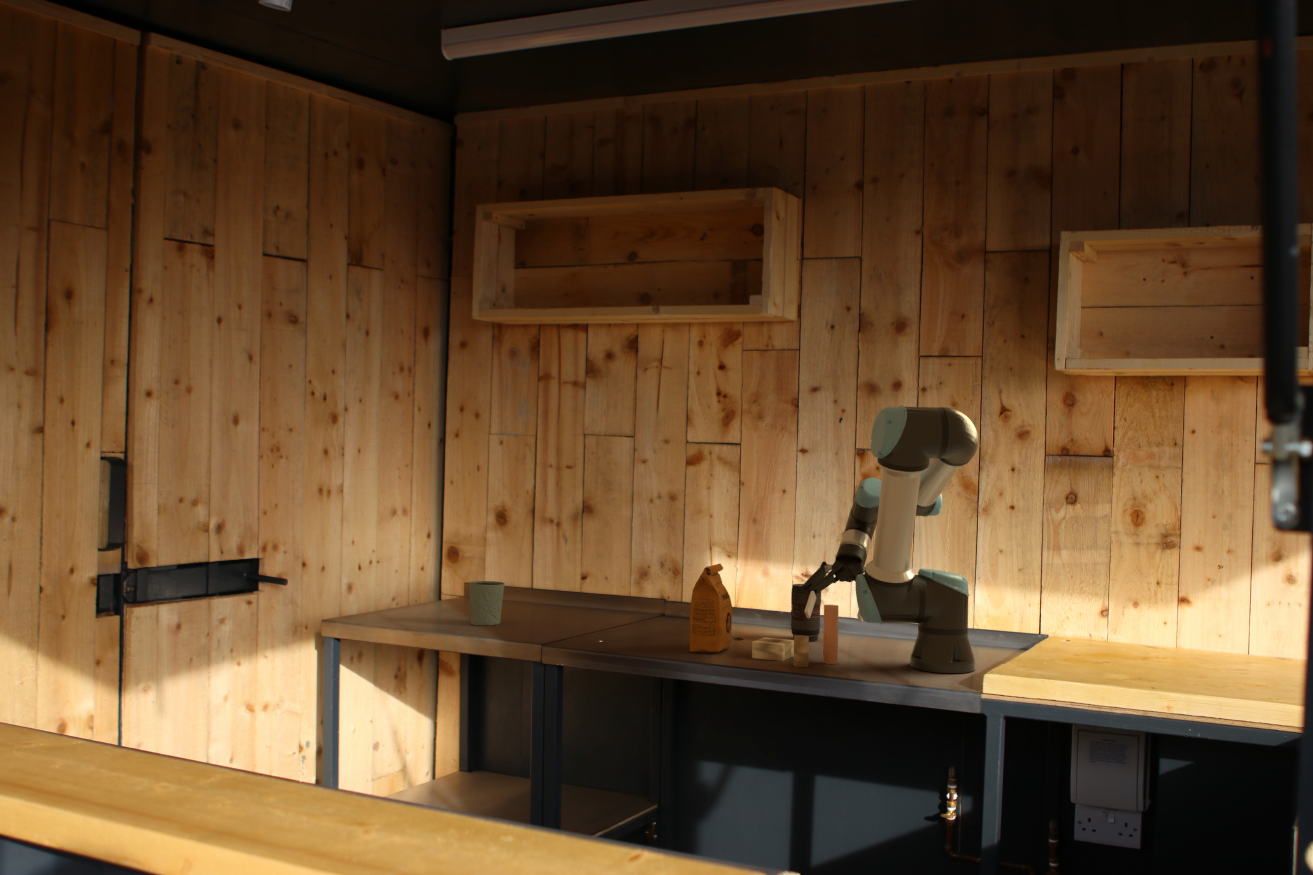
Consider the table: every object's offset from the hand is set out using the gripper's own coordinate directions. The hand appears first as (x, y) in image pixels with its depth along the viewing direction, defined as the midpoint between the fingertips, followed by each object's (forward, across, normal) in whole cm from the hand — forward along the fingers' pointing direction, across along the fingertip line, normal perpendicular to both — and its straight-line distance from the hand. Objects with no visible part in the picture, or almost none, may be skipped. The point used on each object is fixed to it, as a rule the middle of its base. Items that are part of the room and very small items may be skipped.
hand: (833, 617), depth 275 cm
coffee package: (+11, +31, -4) cm, 33 cm away
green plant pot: (+8, +105, -7) cm, 106 cm away
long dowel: (+10, -1, -5) cm, 11 cm away
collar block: (+10, +14, -4) cm, 18 cm away
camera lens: (-10, +16, -25) cm, 32 cm away
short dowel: (+15, +4, 0) cm, 16 cm away
